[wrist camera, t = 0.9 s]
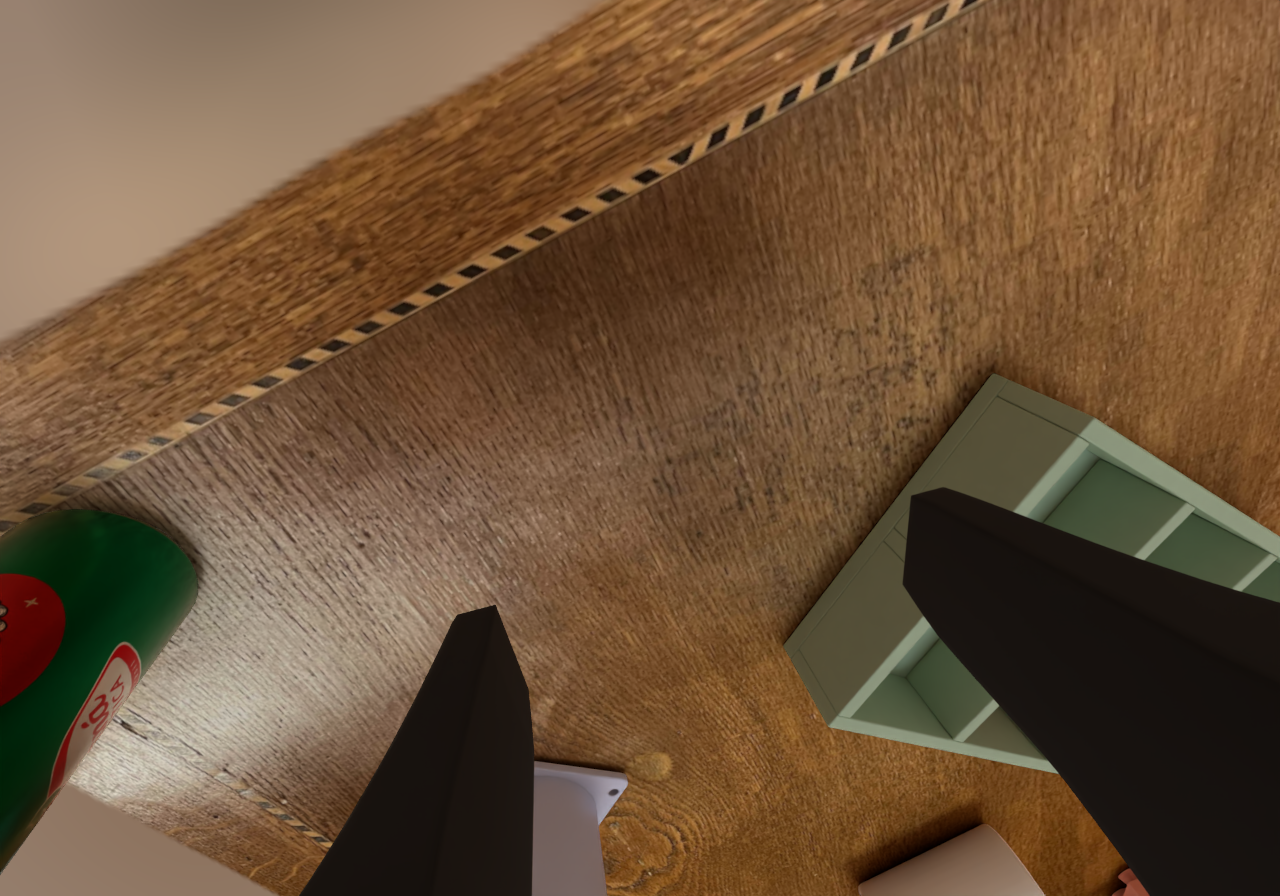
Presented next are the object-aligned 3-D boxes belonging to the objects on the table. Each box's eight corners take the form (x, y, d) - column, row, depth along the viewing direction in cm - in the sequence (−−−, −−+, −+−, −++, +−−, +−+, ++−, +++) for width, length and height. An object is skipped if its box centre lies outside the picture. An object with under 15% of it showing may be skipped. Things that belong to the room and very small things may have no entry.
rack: (1053, 718, 34) (1120, 787, 30) (782, 645, 26) (827, 727, 22) (1249, 532, 29) (1357, 586, 25) (992, 372, 21) (1095, 417, 17)
